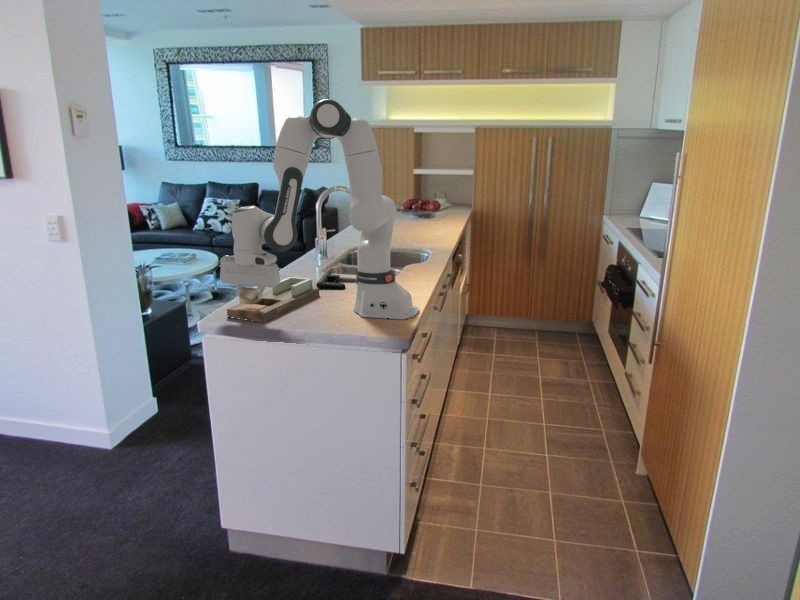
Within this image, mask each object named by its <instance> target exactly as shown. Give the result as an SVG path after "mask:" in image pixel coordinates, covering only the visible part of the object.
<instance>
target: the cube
mask: <svg viewBox="0 0 800 600" xmlns="http://www.w3.org/2000/svg"><path fill="white" fill-rule="evenodd" d="M258 292H259V289H258V287H256V286H245V287H242V289H240V290H239V292H238V300H239V304H251V305H252V304H254V303H256V302H258V301H259V299H256V295H255V294H257V293H258Z"/></svg>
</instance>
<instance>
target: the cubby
mask: <svg viewBox="0 0 800 600" xmlns="http://www.w3.org/2000/svg"><path fill="white" fill-rule="evenodd" d="M313 287H314V286H313V278H305V277H299V276H298V277H297V276H288V277H286V278H284V279H280V283H279V285H278V286H276V287H272V290H273V293H279V292H281V291H283V290H286V289H288V288H291V291H292V295H293V296H296V295H298V294H300V293H303V292H305V291H307V290H309V289H311V288H313Z"/></svg>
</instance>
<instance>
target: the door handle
mask: <svg viewBox="0 0 800 600" xmlns="http://www.w3.org/2000/svg"><path fill="white" fill-rule="evenodd" d="M345 283H357V279H356V278H355V277H344V276H343V277H341V275H340V274H332V272H331V271H325V273H324V274H322V277H320V279H319V280H318V281H317V282H316V283H315V286H316V288H319V290H322V289H327V290H345V289H346V284H345Z"/></svg>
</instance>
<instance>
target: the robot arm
mask: <svg viewBox="0 0 800 600" xmlns="http://www.w3.org/2000/svg"><path fill="white" fill-rule="evenodd" d="M335 138H336V139H338V141H340V144H341V146H342V149H343V155H344V160H345V165H346V170H347V175H348V181H349V198H350V199H349V201H350V202H349V203H350V204H349V206H350V207H349V211H348V221H349V223H350V225H351V226H352V227H353V228H354V229H355V230H356V231H358V232H361V233H360V237H359V241H358V245H357V270H356V279H357V282H356V286H357V290H356V298H355V303H354V306H353V307H354V308H353V311H354V312H355V313H357V314H358V315H359V316H360V317H361V318H371V319H372V318H373V319H374V318H375V319H376V318H377V319H387V318H389V320H391V319H392V320H406V319H407V318H408V319H410V317H411V318H412V317H415V316H416V315H417V314H418V313H419V312H420V308H419V306H417V305H413V299H412V295H411V293H410V292H409V291H408V290H407V289H405V288H404V287H403V286H402V285H401V284H400V283H399V282H397V281H396V277H397V275H398V272H397V271H396V272H394V271H392V269H391V243H392V237H393V232H394V223H395V221H394V220H395V217H396V215H397V214H396V212H397V207H396V203H395V201H394V200H393V199H392V198H391V197H388V196H387V195H384V194H383V193H382V192H383V190H382V188H383V185H382V182H383V175H384V174H383V169H382V164H381V160H380V155H379V151H378V150H379V149H378V144H377V141H376V138H375V135H374V131H373V128H372V126H371V124H370V122H368V120H366V119H364V118H360V117H357V118H352V117H351V116H350V114H349V112H347V111H346V109H345V108H344V107H343V106H342V105H341V104H340V103H339V101H336V100H334V99H331V98H324V99H320V100H319V101H316V103H314V105H313V106H312V109H311V110H310V114H309V115H307V116H302V115H291V116H288V117H287V118H286V119H285V121H284V122H283V125H282V127H281V130H280V132H279V135H278V138H277V141H276V146H275V148H274V155H273V170H274V172H275V174H276V176H277V180H278V185H279V192H278V197H277V202H276V207H275V213H274V214H272V213H269V212H266V211H264V210H262V209H260V208H259V207H258V206H256V205H245V206H241V207H238V208H237V209H235V210H234V211H233V212H232V217H231V218H232V219H231V230H232V237H233V241H234V242H233V255H227V254H225V255H223V256H222V257H220V258H219V259H220V260H219V261H220V262H219V264H220V265H219V266H220V271H219V276H220V277H219V280H220V282H221V284H227V285H235V289H236V290H237V292H238V293H239V290H240V289H242V288H243V286H249V287H257V288H258V293H257V294H255V295H256V299H262V295H263V294H264V291H265V289H266V288H273V287H276V286H278V285H279V283H280V281H281V275H280V269H279V266H278V264H277V263H276V262H277V261H278V258H277V256H276V255H275V254H272V253H269V252H268V251H265V250H264V249H262V248H263V247H262V246H263V245H267V246H268V247H269V249H271V250H272V251H273V252H277V253H278V252H279V253H284V252H287V251H290V250H291V249H292V248H293V247H294V246H295V245H296V243H297V240H298V230H297V224H296V221H297V213H298V207H299V201H300V198H301V192H302V186H303V183H304V179H305V175H306V172H307V170H308V169H307V168H308V166H309V162H310V157H311V153H312V151H313V150H312V149H313V146H314V143H315V141H316V140H330V139H335ZM408 319H407V320H408Z"/></svg>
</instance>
